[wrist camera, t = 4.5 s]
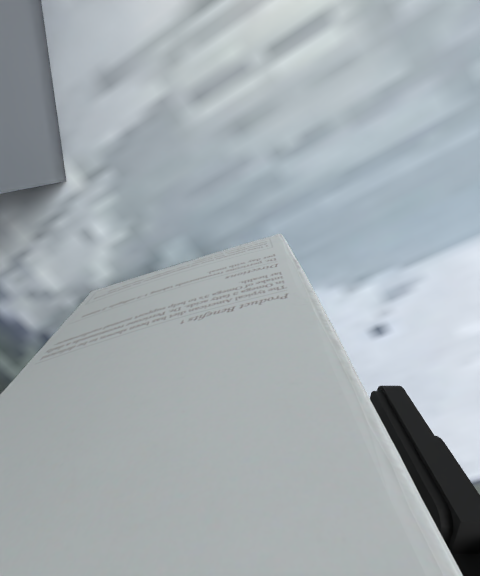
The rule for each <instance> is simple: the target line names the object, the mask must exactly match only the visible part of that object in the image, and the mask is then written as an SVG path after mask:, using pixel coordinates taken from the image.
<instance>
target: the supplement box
mask: <svg viewBox="0 0 480 576" xmlns="http://www.w3.org/2000/svg"><path fill="white" fill-rule="evenodd" d="M0 576H463V575H462V573H461V571H460V569H459V567H458V566H457V564H456V562H455V560H454V558H453V556H452V554H451V552H450V551H449V549H448V547H447V545H446V543H445V541H444V539H443V537H442V536H441V534H440V532H439V530H438V528H437V526H436V524H435V522H434V521H433V519H432V517H431V515H430V513H429V511H428V509H427V507H426V506H425V504H424V502H423V500H422V498H421V496H420V494H419V492H418V490H417V488H416V486H415V484H414V482H413V480H412V478H411V477H410V475H409V473H408V471H407V469H406V467H405V465H404V463H403V461H402V459H401V457H400V455H399V453H398V451H397V449H396V447H395V445H394V443H393V442H392V440H391V438H390V436H389V434H388V432H387V430H386V428H385V427H384V425H383V423H382V421H381V419H380V417H379V415H378V413H377V412H376V410H375V408H374V406H373V404H372V402H371V400H370V398H369V397H368V395H367V393H366V391H365V389H364V387H363V385H362V383H361V382H360V380H359V378H358V376H357V374H356V372H355V370H354V368H353V366H352V364H351V362H350V360H349V358H348V356H347V354H346V352H345V350H344V348H343V346H342V344H341V342H340V340H339V338H338V336H337V334H336V332H335V330H334V328H333V326H332V324H331V322H330V320H329V319H328V317H327V315H326V313H325V311H324V309H323V307H322V305H321V303H320V301H319V299H318V297H317V295H316V294H315V292H314V290H313V288H312V286H311V284H310V282H309V280H308V278H307V277H306V275H305V273H304V271H303V269H302V267H301V266H300V264H299V262H298V261H297V259H296V258H295V256H294V254H293V252H292V250H291V248H290V246H289V245H288V243H287V241H286V240H285V238H284V237H283V235H282V234H276V235H273V236H270V237H267V238H263V239H260V240H256V241H253V242H249V243H246V244H242V245H239V246H236V247H232V248H229V249H226V250H223V251H219V252H216V253H213V254H210V255H206V256H203V257H200V258H197V259H193V260H190V261H187V262H184V263H181V264H177V265H174V266H171V267H168V268H164V269H161V270H158V271H155V272H152V273H148V274H145V275H142V276H139V277H135V278H132V279H129V280H126V281H123V282H119V283H116V284H113V285H110V286H107V287H103V288H100V289H96V290H93V291H91V292H90V293H89V295H88V296H87V297H86V299H85V300H84V301H83V302H82V303H81V304H80V305H79V307H78V308H77V309H76V310H75V311H74V312H73V313H72V314H71V315H70V316H69V318H68V319H67V320H66V321H65V322H64V323H63V324H62V325H61V327H60V328H59V329H58V330H57V331H56V332H55V333H54V335H53V336H52V337H51V338H50V339H49V340H48V341H47V343H46V344H45V345H44V346H43V347H42V348H41V349H40V350H39V352H38V353H37V354H36V355H35V356H34V357H33V358H32V359H31V360H30V362H29V363H28V364H27V365H26V366H25V367H24V368H23V370H22V371H21V372H20V373H19V374H18V375H17V376H16V378H15V379H14V380H13V381H12V382H11V383H10V384H9V386H8V387H7V388H6V389H5V390H4V391H3V392H2V393H1V394H0Z"/></svg>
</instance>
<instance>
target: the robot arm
mask: <svg viewBox="0 0 480 576" xmlns="http://www.w3.org/2000/svg"><path fill="white" fill-rule="evenodd" d="M370 400H371V402H372V404H373V406H374V408H375V410H376V412H377V413H378V415H379V417H380V419H381V421H382V423H383V425H384V427H385V428H386V430H387V432H388V434H389V436H390V438H391V440H392V442H393V443H394V445H395V447H396V449H397V451H398V453H399V455H400V457H401V459H402V461H403V463H404V465H405V467H406V469H407V471H408V473H409V475H410V477H411V478H412V480H413V482H414V484H415V486H416V488H417V490H418V492H419V494H420V496H421V498H422V500H423V502H424V504H425V506H426V507H427V509H428V511H429V513H430V515H431V517H432V519H433V521H434V522H435V524H436V526H437V528H438V530H439V532H440V534H441V536H442V537H443V539H444V541H445V543H446V545H447V547H448V549H449V551H450V552H451V554H452V556H453V558H454V560H455V562H456V564H457V566H458V567H459V569H460V571H461V573H462V575H463V576H480V495H479V493H478V492H477V490H476V489H475V487H474V486H473V484H472V483H471V482H470V480H469V479H468V477H467V476H466V474H465V473H464V471H463V470H462V468H461V467H460V465H459V464H458V462H457V461H456V459H455V458H454V456H453V455H452V453H451V452H450V450H449V449H448V447H447V446H446V444H445V443H444V442H443V441H442V439H441V438H439V437H437V436H434V434H433V433H432V431H431V430H430V428H429V427H428V425H427V424H426V422H425V421H424V419H423V417H422V416H421V414H420V413H419V411H418V410H417V408H416V407H415V405H414V404H413V402H412V401H411V399H410V398H409V396H408V395H407V393H406V392H405V390H404V389H403V388H402V387H401V386H379V387H378V389H377V391H373V392H372V393H371V397H370Z"/></svg>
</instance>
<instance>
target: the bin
mask: <svg viewBox="0 0 480 576" xmlns="http://www.w3.org/2000/svg"><path fill="white" fill-rule="evenodd" d="M64 181H66V176H65V169H64V161H63V154H62V147H61V140H60V133H59V126H58V119H57V112H56V105H55V98H54V91H53V84H52V76H51V69H50V62H49V55H48V48H47V41H46V34H45V27H44V20H43V13H42V6H41V0H0V194H2V193H7V192H12V191H17V190H22V189H28V188H33V187H38V186H43V185H48V184H53V183H59V182H64Z"/></svg>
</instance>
